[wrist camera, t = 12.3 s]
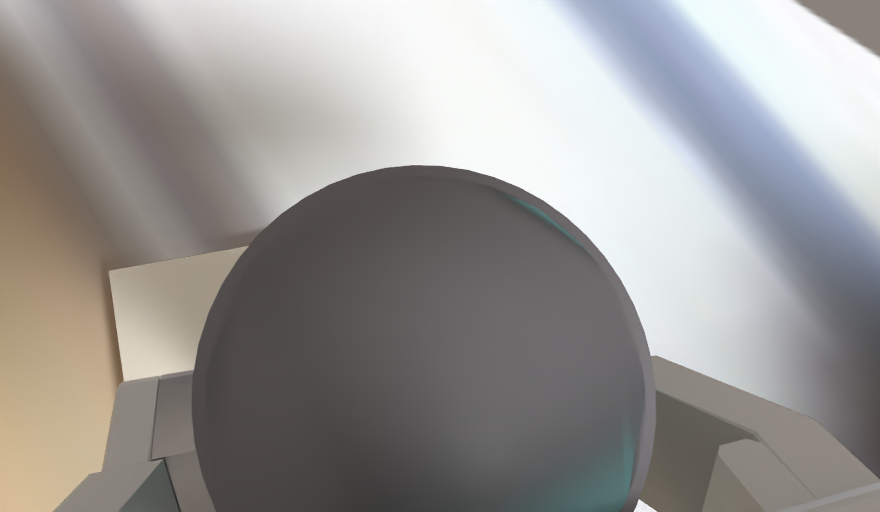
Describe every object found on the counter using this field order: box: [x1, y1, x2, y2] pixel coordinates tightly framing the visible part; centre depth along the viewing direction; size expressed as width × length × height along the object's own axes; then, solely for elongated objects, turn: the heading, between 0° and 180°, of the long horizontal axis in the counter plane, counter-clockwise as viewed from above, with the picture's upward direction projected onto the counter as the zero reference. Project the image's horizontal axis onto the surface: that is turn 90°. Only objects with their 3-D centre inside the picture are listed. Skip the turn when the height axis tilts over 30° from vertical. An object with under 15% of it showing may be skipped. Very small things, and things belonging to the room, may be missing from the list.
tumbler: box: [191, 165, 656, 512], centre depth 11 cm, size 4×4×11 cm
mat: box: [109, 246, 248, 382], centre depth 20 cm, size 12×12×1 cm
